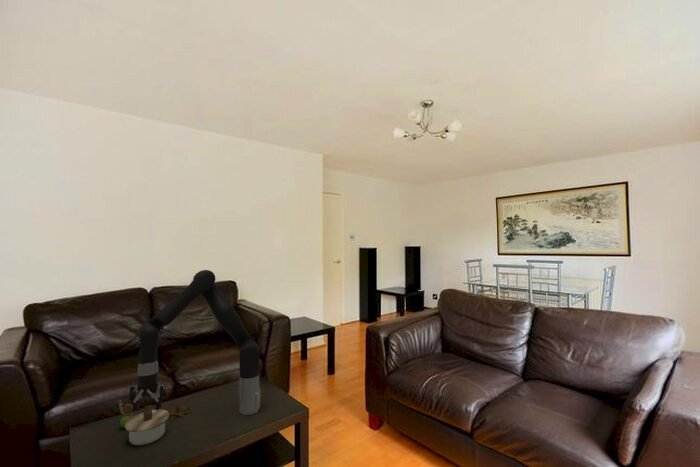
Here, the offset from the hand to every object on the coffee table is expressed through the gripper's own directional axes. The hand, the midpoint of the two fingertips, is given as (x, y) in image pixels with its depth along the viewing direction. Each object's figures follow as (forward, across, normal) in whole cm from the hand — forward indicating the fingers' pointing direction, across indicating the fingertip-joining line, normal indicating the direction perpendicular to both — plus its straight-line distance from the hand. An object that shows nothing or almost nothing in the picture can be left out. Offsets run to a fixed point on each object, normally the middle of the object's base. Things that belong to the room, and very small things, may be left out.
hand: (147, 409), depth 140 cm
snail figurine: (+12, +14, -8) cm, 20 cm away
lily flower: (+12, -3, -20) cm, 23 cm away
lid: (+5, 0, 0) cm, 5 cm away
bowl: (+11, 0, 0) cm, 11 cm away
